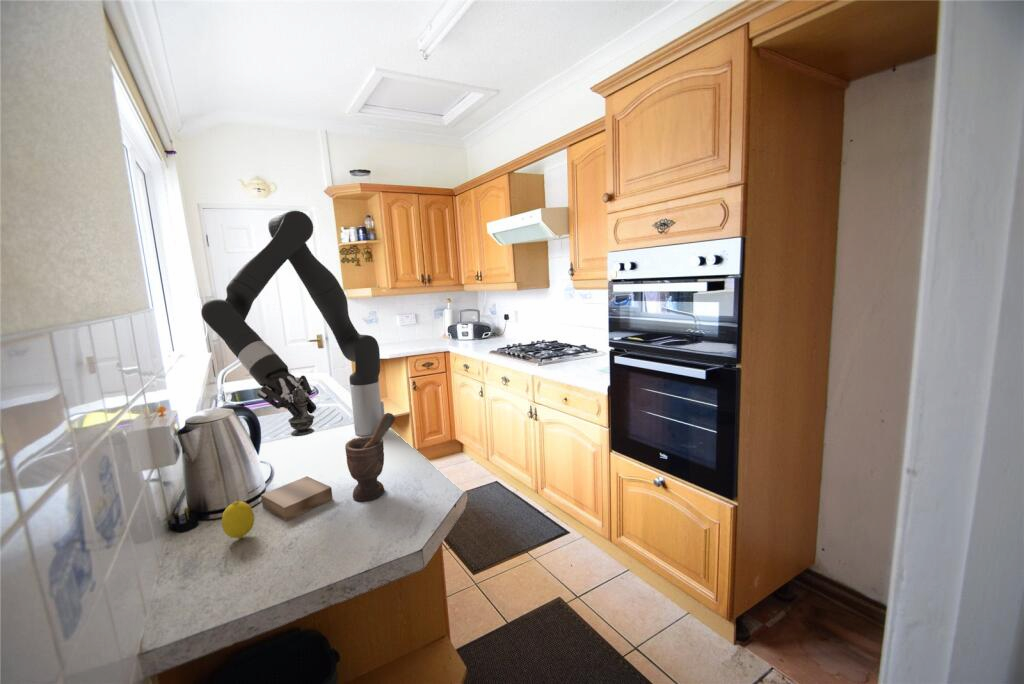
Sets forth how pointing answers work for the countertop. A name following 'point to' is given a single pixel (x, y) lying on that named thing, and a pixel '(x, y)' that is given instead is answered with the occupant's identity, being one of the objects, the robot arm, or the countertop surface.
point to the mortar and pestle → (368, 461)
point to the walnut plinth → (296, 497)
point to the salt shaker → (306, 419)
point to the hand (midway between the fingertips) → (307, 413)
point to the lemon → (237, 519)
